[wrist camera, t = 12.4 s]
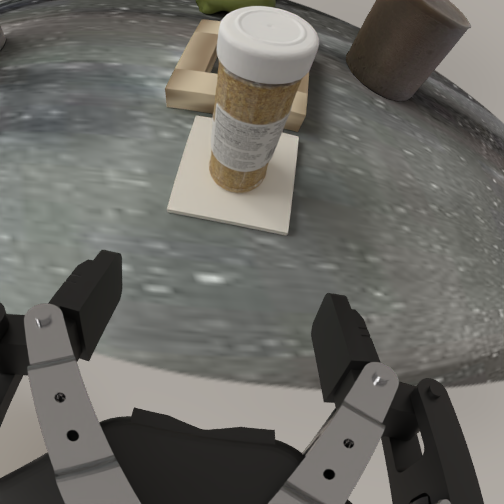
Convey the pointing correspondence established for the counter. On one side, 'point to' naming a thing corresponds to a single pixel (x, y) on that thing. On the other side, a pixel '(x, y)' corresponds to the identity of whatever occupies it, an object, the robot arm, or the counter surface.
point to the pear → (230, 5)
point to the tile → (230, 203)
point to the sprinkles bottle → (255, 90)
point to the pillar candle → (404, 44)
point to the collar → (213, 78)
